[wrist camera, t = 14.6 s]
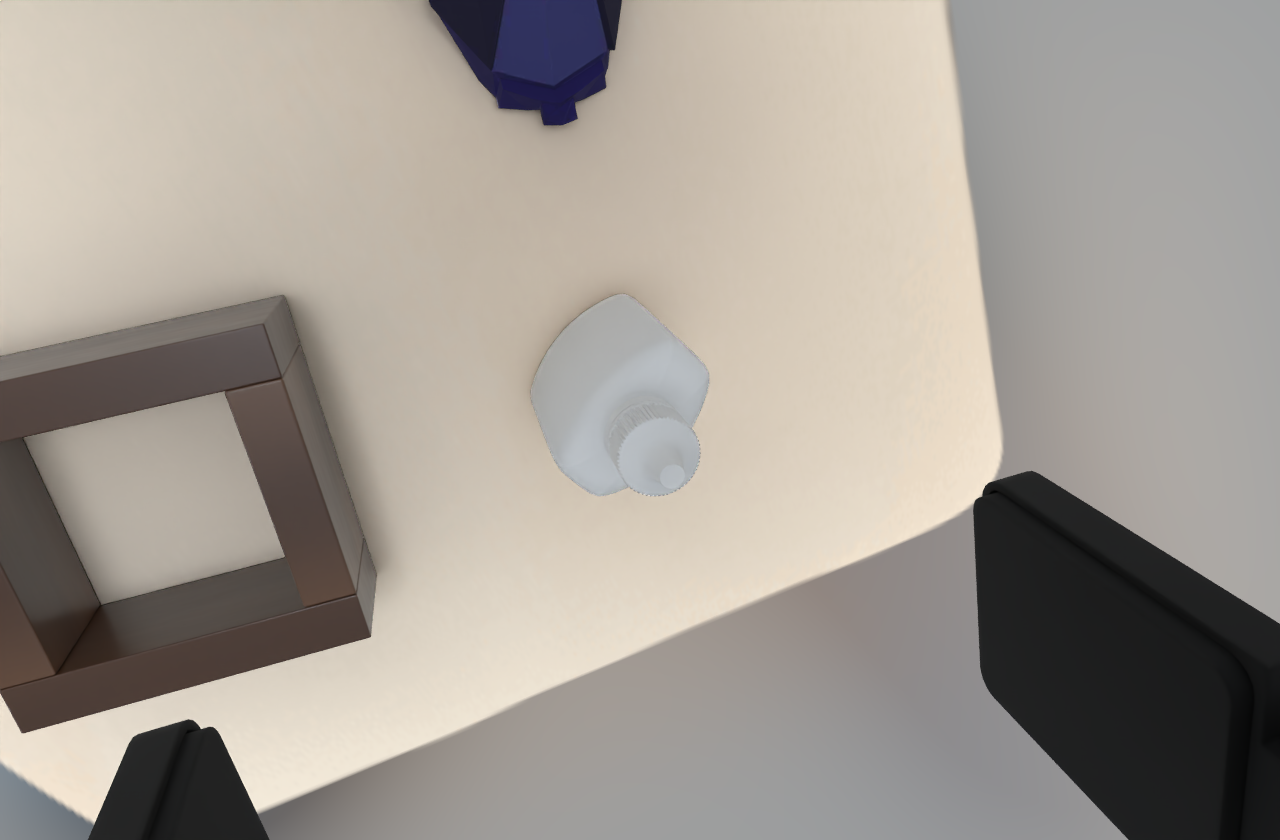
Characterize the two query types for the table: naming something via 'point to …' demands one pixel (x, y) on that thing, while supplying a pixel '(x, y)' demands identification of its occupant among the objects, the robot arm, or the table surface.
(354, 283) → the table surface
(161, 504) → the table surface
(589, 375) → the eye dropper bottle
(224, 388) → the holder
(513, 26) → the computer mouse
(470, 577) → the table surface
